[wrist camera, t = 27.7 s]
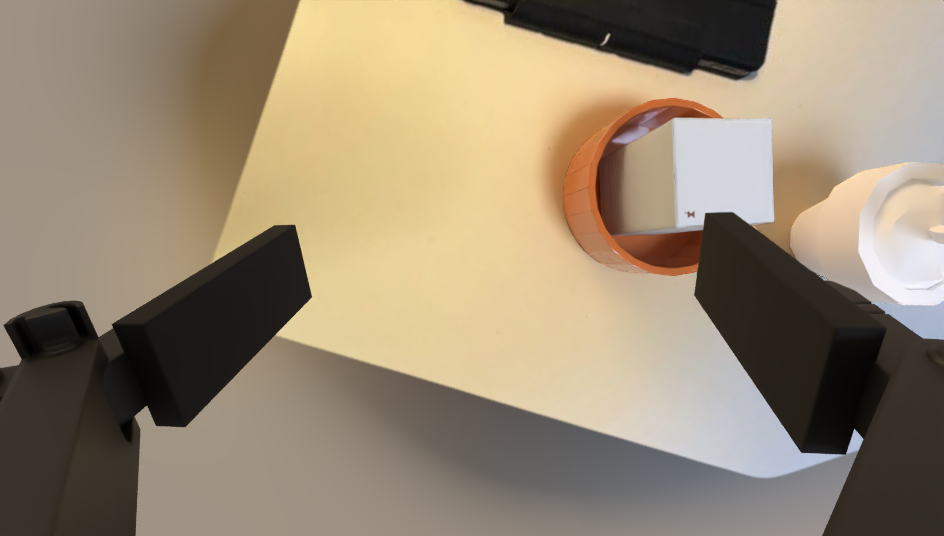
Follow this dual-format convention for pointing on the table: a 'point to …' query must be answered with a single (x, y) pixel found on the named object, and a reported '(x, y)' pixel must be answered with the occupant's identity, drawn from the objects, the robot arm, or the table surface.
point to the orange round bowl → (585, 208)
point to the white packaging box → (688, 176)
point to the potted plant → (879, 234)
